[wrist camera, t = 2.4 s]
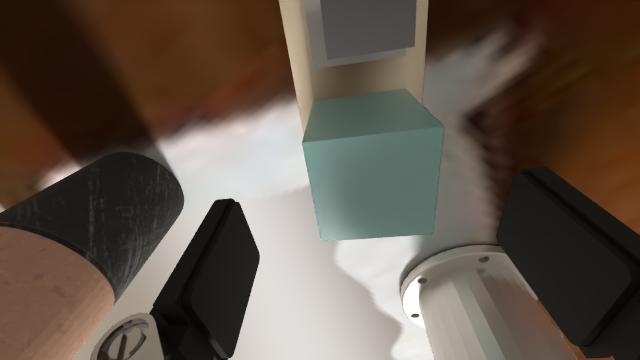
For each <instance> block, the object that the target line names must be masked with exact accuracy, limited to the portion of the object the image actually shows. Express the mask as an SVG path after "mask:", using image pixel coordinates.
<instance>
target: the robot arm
mask: <svg viewBox="0 0 640 360" xmlns="http://www.w3.org/2000/svg"><path fill="white" fill-rule="evenodd" d="M497 241H498V243H499V245H500V246H501V247H500V246H491V245H473V246H465V247H459V248H454V249H451V250H448V251H444V252H441V253H439V254H437V255H435V256H432V257H430V258H429V259H427V260H425V261H424V262H422V263H421V264H419V265H418V266H417V267H416V268H415V269H413V270H412V271H411V272H410V273H409V275H408V276H407V277H406V279H405V280H404V282H403V285H402V287H401V293H400V296H401V302H402V306H403V309H404V312H405V314H406V315H407V317H408V318H409V319H410V320H412V321H413V322H414V323H415V324H417V325H419V326H421V327H423V328H425V329H426V333H427V336H428V339H429V343H430V346H431V350H432V353H433V357H434V360H578V359H577V357H576V356H575V355H574V353H573V352H572V350H571V349H570V348H569V346H568V345H567V343H566V342H565V341H564V339H563V335H562V332H563V333H564V335H565V336H566V338H567V339H568V340H569V341H570V342H571V343H572V344H574V345H576V346H578V347H579V348H580V350H581V351H582V352H583V354H584V355H585V356H586V358H609V357H610V356H611V355H612V356H613V357H614V358H615V360H640V235H639V234H637V233H636V232H634V231H633V230H632V229H630V228H629V227H628V226H626V225H625V224H624V223H622V222H621V221H619V220H618V219H617V218H615V217H614V216H613V215H611V214H610V213H608V212H607V211H606V210H604V209H603V208H602V207H600V206H599V205H598V204H596V203H595V202H593V201H592V200H591V199H589V198H588V197H587V196H585V195H584V194H582V193H581V192H580V191H578V190H577V189H576V188H574V187H573V186H572V185H570V184H569V183H567V182H566V181H565V180H563V179H562V178H561V177H559V176H558V175H556V174H555V173H554V172H552V171H551V170H550V169H548V168H546V167H536V168H526V169H522V170H521V171H520V172H519V174H516V175H515V176H514V179H513V182H512V185H511V188H510V192H509V195H508V198H507V201H506V205H505V208H504V211H503V214H502V218H501V221H500V224H499V227H498V231H497ZM259 257H260V255H259V251H258V249H257V246H256V243H255V241H254V238H253V236H252V234H251V231H250V228H249V226H248V223H247V221H246V218H245V216H244V213H243V211H242V208H241V205H240V203H239V202H235V201H234V200H233V199H232V198H230V199H220V200H215V202H214V203H213V205H212V206H211V208H210V210H209V211H208V213H207V215H206V216H205V218H204V220H203V221H202V223H201V225H200V227H199V228H198V230H197V232H196V233H195V235H194V237H193V238H192V240H191V242H190V243H189V245H188V247H187V248H186V250H185V252H184V253H183V255H182V257H181V258H180V260H179V262H178V263H177V265H176V267H175V268H174V270H173V272H172V274H171V275H170V277H169V279H168V281H167V282H166V284H165V285H164V287H163V289H162V290H161V292H160V294H159V296H158V297H157V299H156V300H155V302H154V304H153V308H152V310H151V312H150V313H149V314H148V313H138V314H134V315H130V316H128V317H126V318H124V319H122V320H121V321H119V322H118V323H116V324H115V325H114V326H112V327H111V328H110V329H109V330H108V331H107V332H106V333H105V334H104V335H103V336H102V338H101V339H100V340H99V342H98V343H97V344H96V346H95V348H94V350H93V352H92V354H91V357H90V360H228V358H231V357H232V356H233V354H234V351H235V348H236V344H237V340H238V337H239V333H240V329H241V326H242V322H243V319H244V315H245V311H246V307H247V304H248V301H249V297H250V293H251V289H252V286H253V282H254V279H255V275H256V271H257V268H258V264H259V259H260V258H259ZM538 299H539V300H540V302H541V303H542V304H543V306H544V307H545V308H546V310H547V311H548V313H549V314H550V315H551V317H552V318H553V320H554V321H555V322H556V324H557V325H558V326H559V328H560V329H561V331H562V332H561V331H560V330H559V329H558V328H555V326H554V325H553V324H552V322H551V321H550V319H549V318H548V317H547V315H546V314H545V312H544V311H543V310H542V308H541V307H540V305H539V304H538V303H537V300H538Z"/></svg>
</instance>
